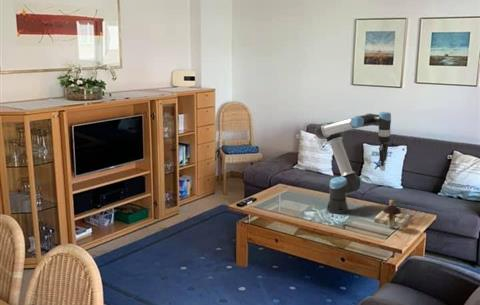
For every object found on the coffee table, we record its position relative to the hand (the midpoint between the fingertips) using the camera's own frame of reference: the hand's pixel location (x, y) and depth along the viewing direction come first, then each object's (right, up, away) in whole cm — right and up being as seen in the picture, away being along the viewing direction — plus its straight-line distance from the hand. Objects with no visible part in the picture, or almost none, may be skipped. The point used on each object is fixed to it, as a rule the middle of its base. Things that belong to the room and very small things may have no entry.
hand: (382, 170), depth 332 cm
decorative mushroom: (+1, -37, -16) cm, 40 cm away
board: (+5, -34, -2) cm, 34 cm away
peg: (+5, -34, -2) cm, 34 cm away
